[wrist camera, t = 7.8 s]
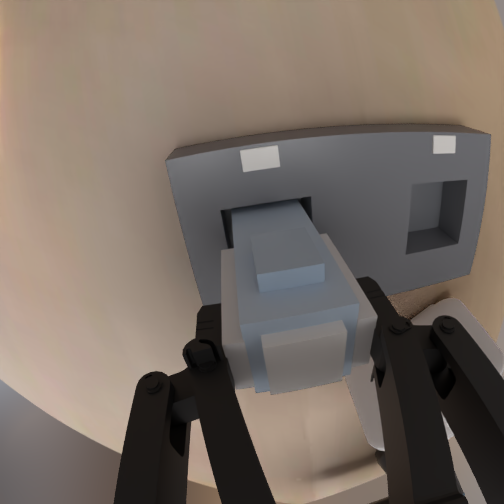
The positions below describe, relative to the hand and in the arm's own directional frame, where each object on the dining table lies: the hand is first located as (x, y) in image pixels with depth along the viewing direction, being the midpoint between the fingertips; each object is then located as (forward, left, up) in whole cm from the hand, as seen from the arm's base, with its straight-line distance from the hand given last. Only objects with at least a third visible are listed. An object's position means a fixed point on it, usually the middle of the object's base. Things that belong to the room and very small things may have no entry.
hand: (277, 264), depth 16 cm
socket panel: (0, -6, -6) cm, 9 cm away
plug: (0, 0, -4) cm, 4 cm away
